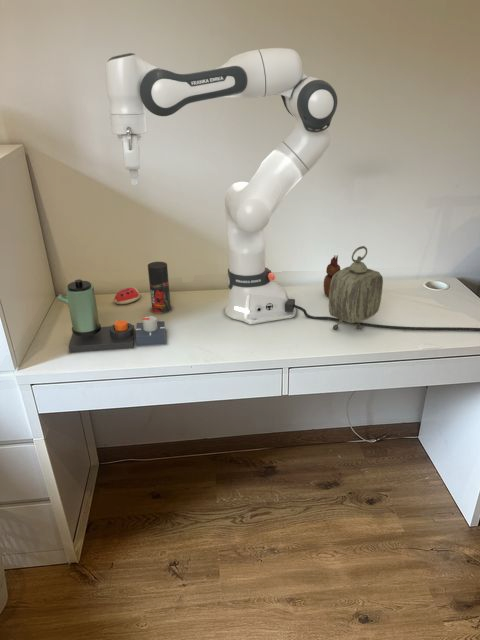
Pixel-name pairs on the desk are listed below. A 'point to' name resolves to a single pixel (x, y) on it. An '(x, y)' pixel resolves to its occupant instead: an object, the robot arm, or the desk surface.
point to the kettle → (82, 308)
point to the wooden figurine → (330, 274)
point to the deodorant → (159, 287)
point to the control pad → (150, 335)
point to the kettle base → (103, 340)
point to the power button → (121, 325)
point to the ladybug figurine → (127, 296)
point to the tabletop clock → (355, 292)
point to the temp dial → (149, 323)
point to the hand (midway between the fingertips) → (134, 180)
